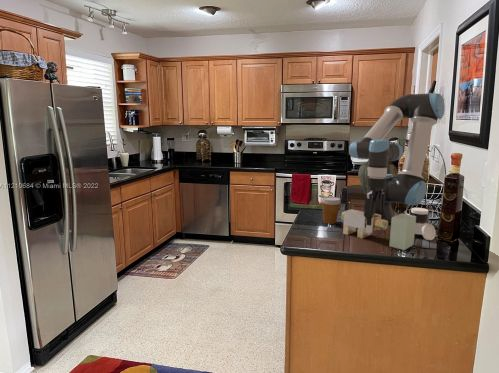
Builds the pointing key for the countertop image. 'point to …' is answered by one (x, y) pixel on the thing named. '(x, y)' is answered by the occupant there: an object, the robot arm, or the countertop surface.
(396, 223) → the socket block
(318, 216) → the countertop surface
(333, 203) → the disposable coffee cup
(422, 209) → the flanged pipe fitting
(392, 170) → the vase
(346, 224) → the white blocky legged figure
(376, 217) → the cylinder on square base
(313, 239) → the countertop surface
